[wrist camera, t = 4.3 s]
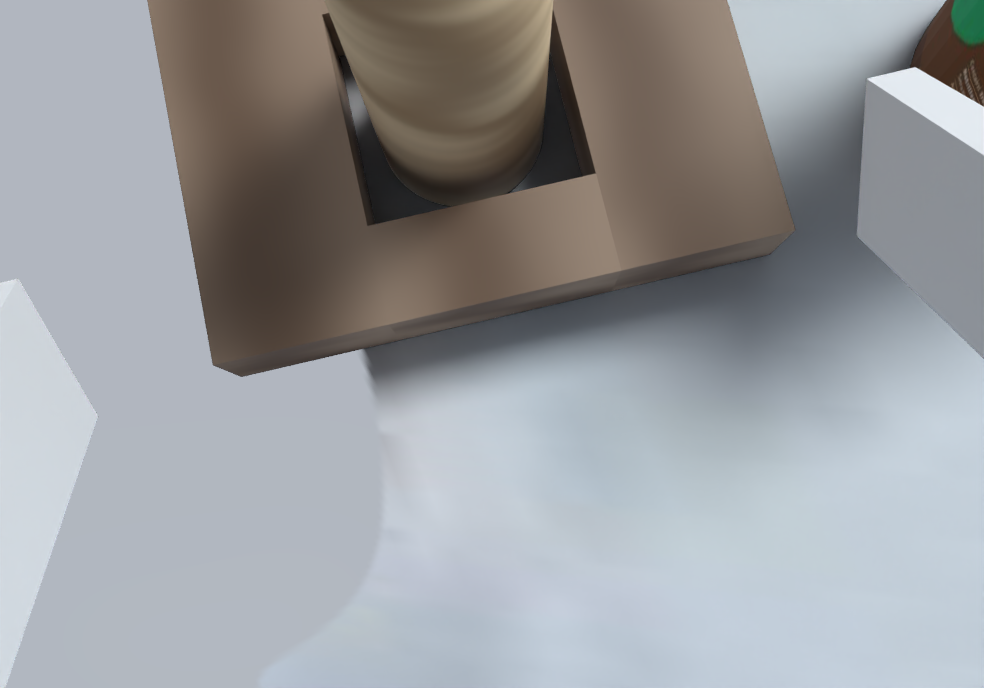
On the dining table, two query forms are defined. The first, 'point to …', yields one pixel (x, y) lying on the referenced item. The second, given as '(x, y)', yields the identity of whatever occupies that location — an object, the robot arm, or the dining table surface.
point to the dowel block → (463, 228)
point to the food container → (955, 48)
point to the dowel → (451, 89)
